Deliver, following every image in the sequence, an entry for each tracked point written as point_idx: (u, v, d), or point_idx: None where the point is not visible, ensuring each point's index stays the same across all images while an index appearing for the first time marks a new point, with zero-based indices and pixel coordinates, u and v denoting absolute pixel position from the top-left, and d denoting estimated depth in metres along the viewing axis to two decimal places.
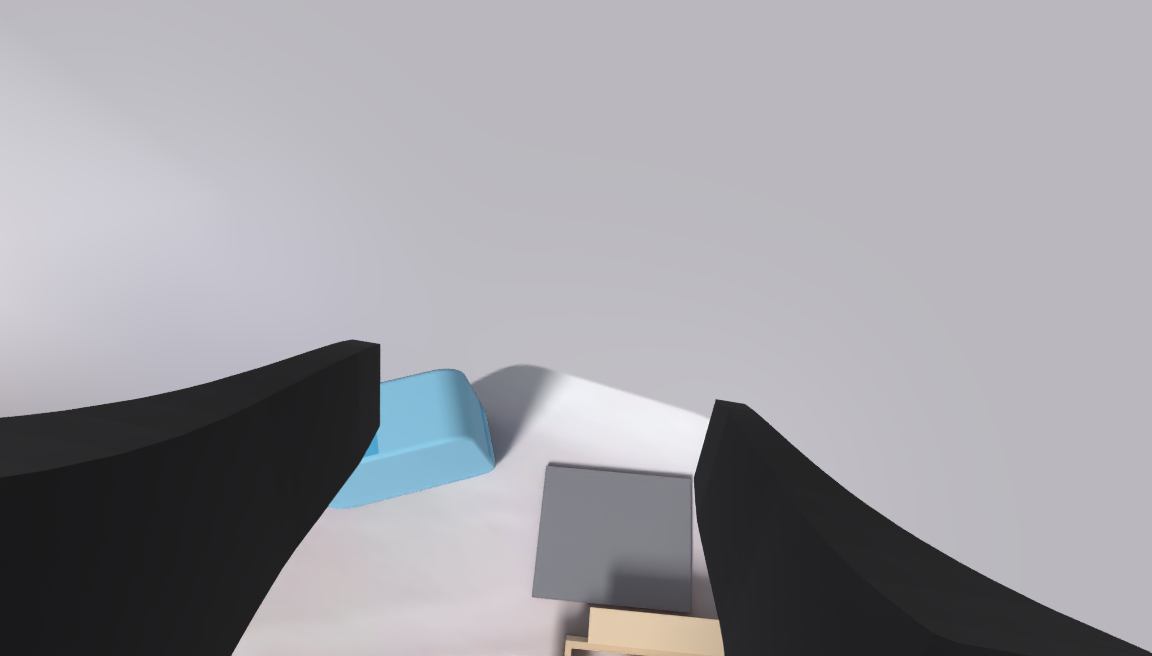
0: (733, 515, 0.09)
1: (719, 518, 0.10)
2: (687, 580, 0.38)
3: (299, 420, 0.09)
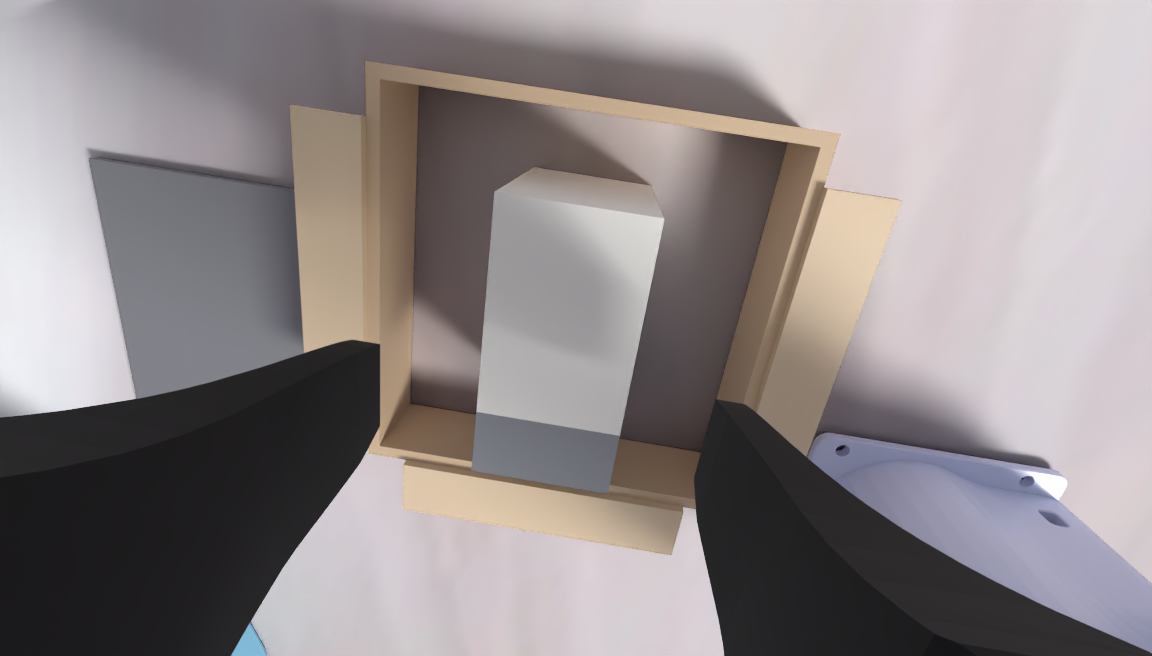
0: (733, 515, 0.09)
1: (719, 518, 0.10)
2: (284, 196, 0.19)
3: (299, 420, 0.09)
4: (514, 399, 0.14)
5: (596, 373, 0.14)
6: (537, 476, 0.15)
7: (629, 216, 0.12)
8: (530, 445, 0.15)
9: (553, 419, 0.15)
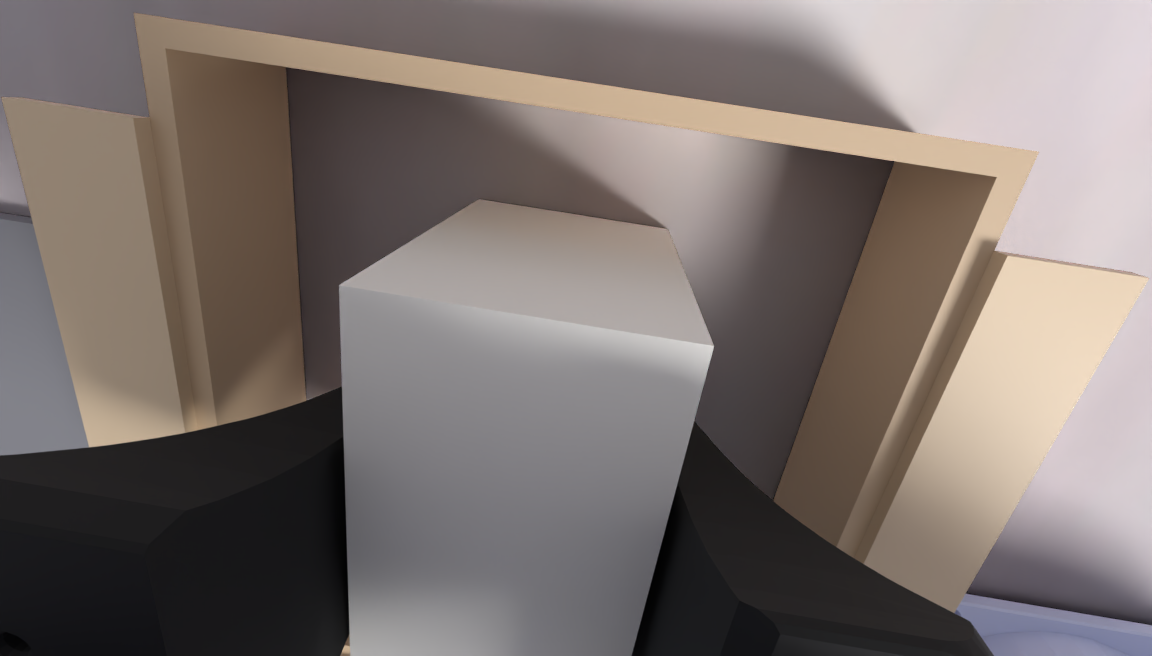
0: None
1: None
2: None
3: None
4: (418, 650, 0.08)
5: (570, 616, 0.07)
6: None
7: (634, 341, 0.06)
8: None
9: None
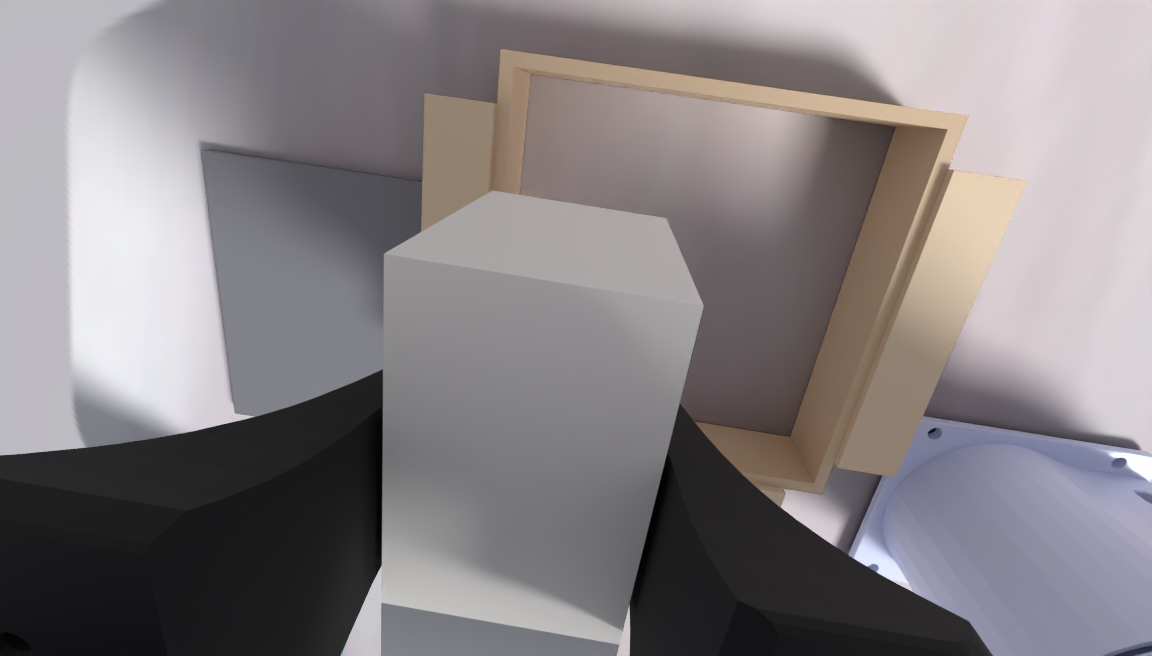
0: None
1: None
2: (392, 185, 0.19)
3: None
4: (442, 587, 0.09)
5: (578, 553, 0.08)
6: None
7: (636, 301, 0.07)
8: (472, 652, 0.09)
9: (509, 618, 0.09)
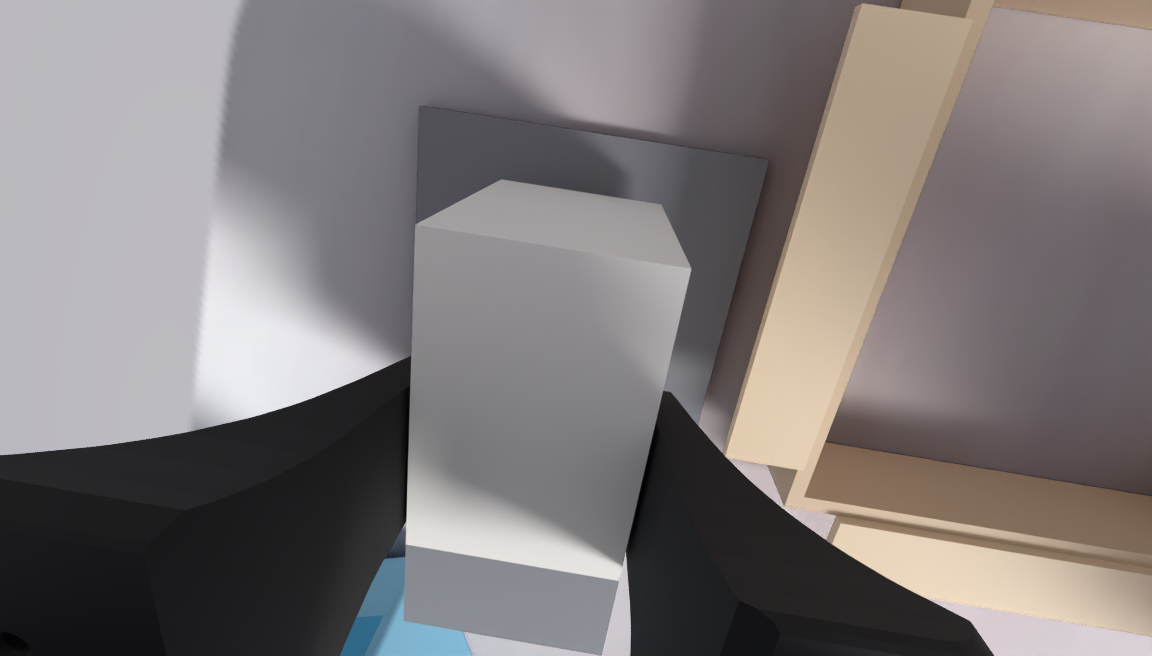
0: (644, 500, 0.09)
1: None
2: (688, 157, 0.14)
3: (391, 436, 0.09)
4: (461, 529, 0.10)
5: (582, 495, 0.09)
6: (498, 630, 0.11)
7: (634, 265, 0.08)
8: (487, 590, 0.10)
9: (520, 557, 0.10)
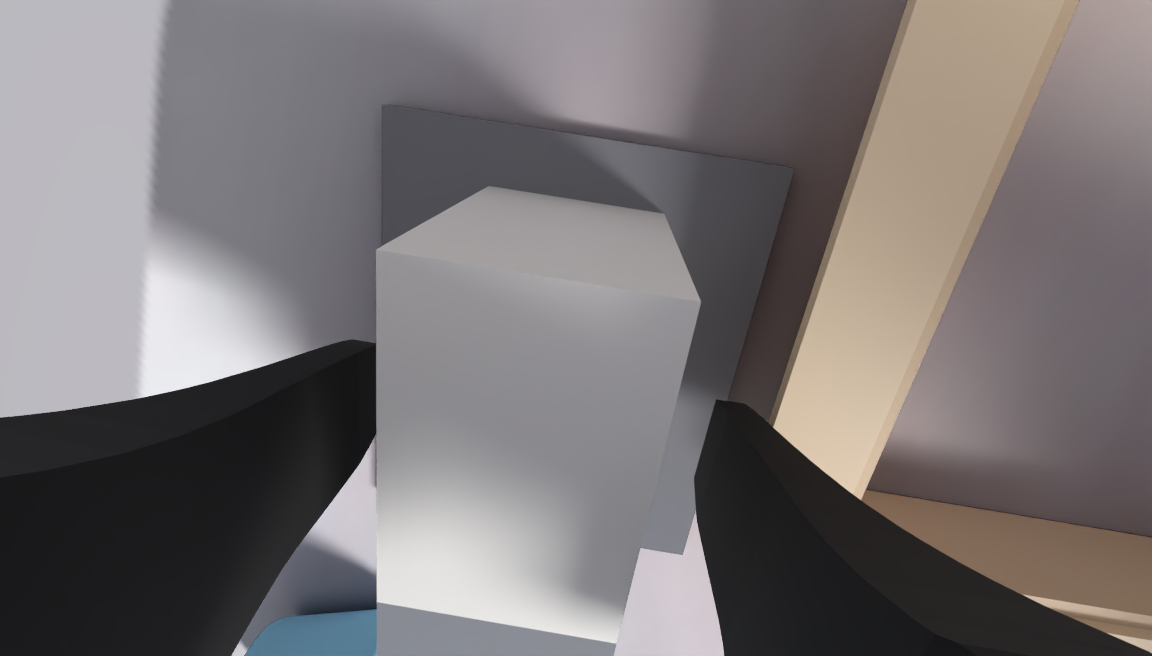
0: (733, 515, 0.09)
1: (719, 518, 0.10)
2: (699, 165, 0.12)
3: (299, 420, 0.09)
4: (438, 586, 0.09)
5: (575, 551, 0.08)
6: None
7: (633, 297, 0.06)
8: (469, 651, 0.09)
9: (505, 617, 0.09)
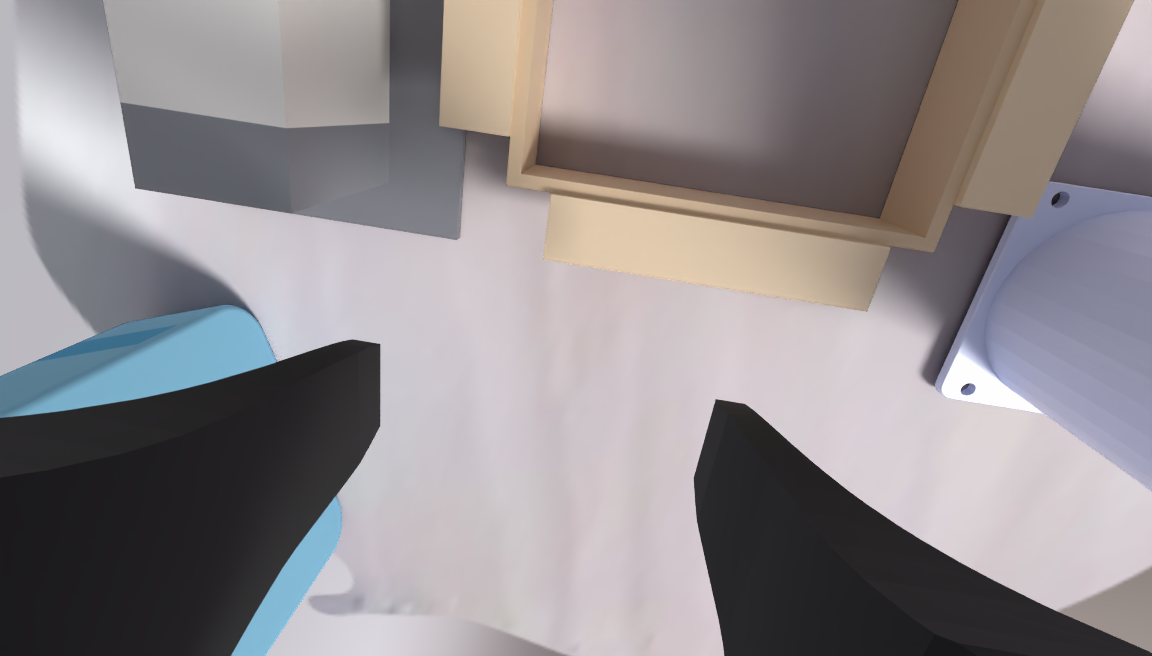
0: (733, 515, 0.09)
1: (719, 518, 0.10)
2: None
3: (299, 420, 0.09)
4: (158, 81, 0.12)
5: (239, 36, 0.12)
6: (208, 192, 0.13)
7: None
8: (191, 147, 0.13)
9: (208, 108, 0.12)
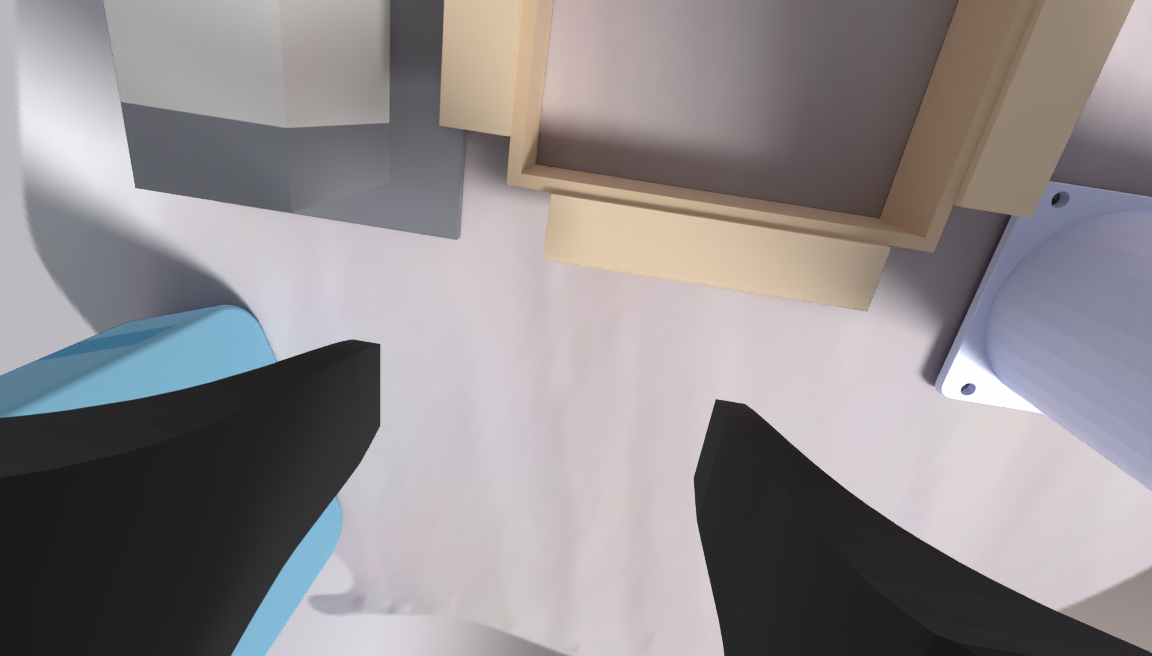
0: (733, 515, 0.09)
1: (719, 518, 0.10)
2: None
3: (299, 420, 0.09)
4: (158, 81, 0.12)
5: (239, 36, 0.12)
6: (209, 192, 0.13)
7: None
8: (191, 147, 0.13)
9: (208, 108, 0.12)
